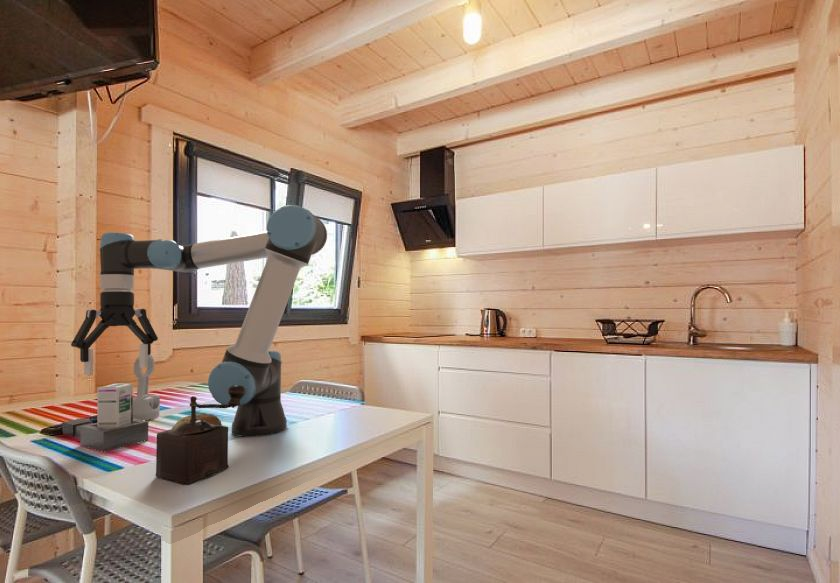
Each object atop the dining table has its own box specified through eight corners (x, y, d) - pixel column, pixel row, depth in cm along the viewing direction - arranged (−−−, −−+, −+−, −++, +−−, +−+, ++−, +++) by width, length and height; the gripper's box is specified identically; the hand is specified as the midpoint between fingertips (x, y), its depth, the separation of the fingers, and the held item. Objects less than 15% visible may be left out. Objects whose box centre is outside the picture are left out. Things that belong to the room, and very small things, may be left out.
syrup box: (118, 443, 115) (119, 386, 115) (95, 443, 115) (97, 386, 116) (133, 436, 121) (134, 382, 121) (112, 436, 121) (113, 382, 121)
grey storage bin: (148, 440, 120) (148, 421, 120) (103, 452, 111) (103, 431, 111) (93, 426, 134) (93, 410, 134) (49, 436, 124) (49, 418, 124)
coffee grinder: (189, 486, 90) (190, 396, 90) (154, 477, 94) (155, 392, 95) (249, 462, 104) (250, 384, 104) (216, 455, 108) (217, 380, 109)
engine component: (115, 421, 139) (147, 421, 139) (116, 356, 140) (148, 356, 140) (138, 413, 150) (167, 413, 150) (139, 352, 151) (168, 352, 151)
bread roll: (233, 439, 121) (233, 409, 121) (184, 456, 107) (184, 423, 108) (207, 435, 125) (207, 406, 125) (157, 451, 111) (157, 419, 112)
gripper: (155, 292, 132) (155, 364, 131) (54, 290, 110) (54, 377, 109) (171, 291, 128) (171, 365, 128) (70, 289, 106) (69, 379, 106)
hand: (117, 371), depth 119 cm, fingers open, 13 cm apart
